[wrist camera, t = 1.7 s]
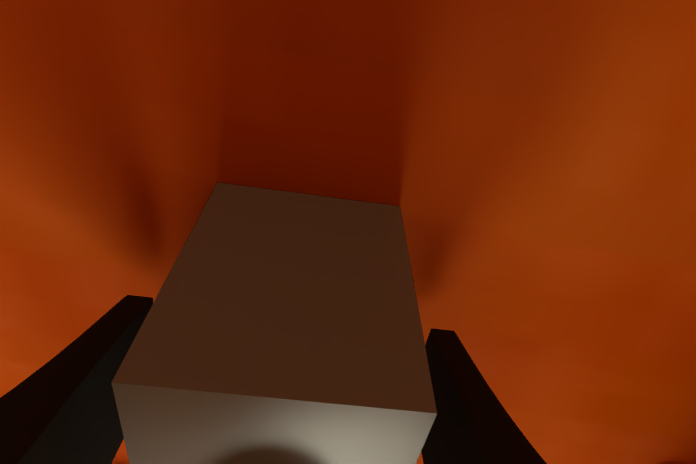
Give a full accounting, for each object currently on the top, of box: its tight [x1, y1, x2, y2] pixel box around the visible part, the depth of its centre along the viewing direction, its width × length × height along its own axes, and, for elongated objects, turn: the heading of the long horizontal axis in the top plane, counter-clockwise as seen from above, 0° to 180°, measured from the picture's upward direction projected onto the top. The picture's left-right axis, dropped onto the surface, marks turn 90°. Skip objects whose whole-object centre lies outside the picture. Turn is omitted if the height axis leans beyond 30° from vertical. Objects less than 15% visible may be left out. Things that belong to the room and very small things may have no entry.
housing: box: [111, 182, 437, 464], centre depth 10 cm, size 5×7×7 cm, turn 171°
